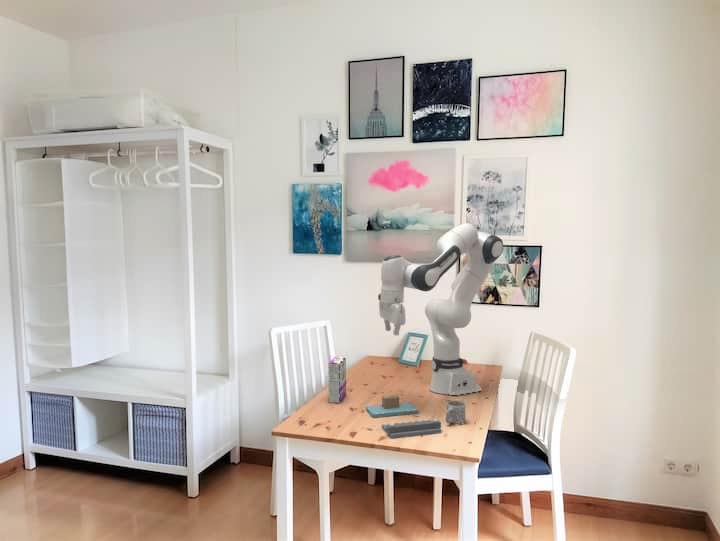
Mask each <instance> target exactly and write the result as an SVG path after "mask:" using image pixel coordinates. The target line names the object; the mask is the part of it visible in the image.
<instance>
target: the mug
mask: <svg viewBox="0 0 720 541" xmlns="http://www.w3.org/2000/svg"><path fill="white" fill-rule="evenodd" d="M464 422H465V423H466V403H465V402H464V401H461V400H449V401H447V402H446V411H445V423H447V424H450V423H451V424H450V425H455V424H460V425H463V424H462V423H464ZM465 423H464V424H465Z"/></svg>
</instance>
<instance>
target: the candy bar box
mask: <svg viewBox="0 0 720 541" xmlns="http://www.w3.org/2000/svg"><path fill="white" fill-rule="evenodd" d="M346 396H347V358H346V356H338V355H337V356H334V357H333V358H332V359H331V360H330V361H329V362H328V403H330V404H341V403H342V401H343V400H344V399H345V397H346Z"/></svg>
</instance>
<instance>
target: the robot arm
mask: <svg viewBox="0 0 720 541" xmlns="http://www.w3.org/2000/svg"><path fill="white" fill-rule="evenodd" d="M436 249H437V253H438V254H439V256H438V257H437V258H436V259H435V260H433V262H431V263H427V264H416V263H412V262H410V261H408V260H406V259H405V258H404V257H403V256H402V255H397V254H396V255H388V256H386V257H385V258H383V260H382V263H381V269H380V273H381V274H380V279H381V280H380V281H381V288H380V293H378V294H377V299H378V300H379V301H378V307H379V308H378V309H379V318H381V319H383V320H384V326H385V331H386V332H390V331H391V330H392V327H391V324H393V327H394V329H393V336H395V337H396V336H399V335H400V329H401V326H404V325H405V324H406V308H405V305H404V304H403V303H404V301H405V300H404V299H405V295H404V294H405V288H408V289H414V290H418V291H421V292H429V291H430V292H431V291H432V290H433V289H434V288H435V287H436V286H437V284H438V282H439V280H440V279H441V278H442V277H443V276H444V275H445V273H447V272H448V271H449V270H450V269H451V268H452V267H453V266H454V265H455V264H456V263H457V262H458V261H459V260H460V258H461V256H462V255H463V254H467V255H468V256H469V260H468V261H467V262H466V263H465V264H464V266H463V267H462V268H461V269H460V271H459V273H458V274H457V275H456V277H455V278H454V280H453V281H452V283H451V285H450V286H451V287H450V288H451V294H450V296H449V298H448V299H444V298H436V299H431V300H429V301H428V302H427V303H426V305H425V307H424V313H425V317H426V318H427V320H428V322H429V324H430V328H431V332H432V338H433V356H432V361H431V362H432V363H431V364H432V365H431V366H432V368H431V369H432V375H431V381H430V385H429V387H428V389H429V391H431V392H433V393H435V394H441V395H448V394H449V395H448V396H452V395H458V396H461V395H460V394H464V395H467V394H466V393H470V394H473V393H472V392H476V393H478V392H477V391H481V392H482V391H483V390H482V387H481V386H480V385H479V384H477V379H476V376H475V375H474V373H472V372H471V371H470V370H468V368H466V367H465V366H464V365H467V364H468V360H467V359H465V358H461V357H460V348H461V347H460V343H461V342H460V339H459V337H458V335H457V333H456V330H455V329H462V328H463V329H464V328H466V327H467V326H468V325H469V324H470V322H471V320H472V311H471V307H472V303H473V300H474V298H475V297H476V295H477V293H478V292H479V290H480V289H481V288H482V286H483V284H484V283H485V282H486V279H487V278H488V276H489V273H490V271H491V270H492V269H491V268H492V264H493V263H495V262H496V260H498V259H499V258H500V256H501V255H502V253H503V251H504V242H503V240H502V239H501V238H500V237H498V236H497V235H494V234H490V233H487V232H485V231H479V230H478V229H477V228H476V227H475V226H474V225H473V224H472V223H469V222H465V223H462V224H460V225H456V226H455V227H453V228H451V229H450V230H449V231H447V232H445V233H444V234H443V235H442V236H440V238H439V239H438V240H437V243H436Z"/></svg>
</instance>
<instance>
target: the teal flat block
mask: <svg viewBox="0 0 720 541" xmlns="http://www.w3.org/2000/svg"><path fill="white" fill-rule="evenodd" d="M365 410H366V412H367V413H368V414H369V415H370V416H371V417H372V418H382V417H391V416H392V417H393V416H403V415H414V414H419V409H418V408H417V407H416V406H414V405H413V404H412V403H411V402H402V403H400V396H399V395H397V394H394V395H393V394H392V395H382V396H381V405H379V404H378V405H371V406H369V405H367V406H365Z"/></svg>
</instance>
